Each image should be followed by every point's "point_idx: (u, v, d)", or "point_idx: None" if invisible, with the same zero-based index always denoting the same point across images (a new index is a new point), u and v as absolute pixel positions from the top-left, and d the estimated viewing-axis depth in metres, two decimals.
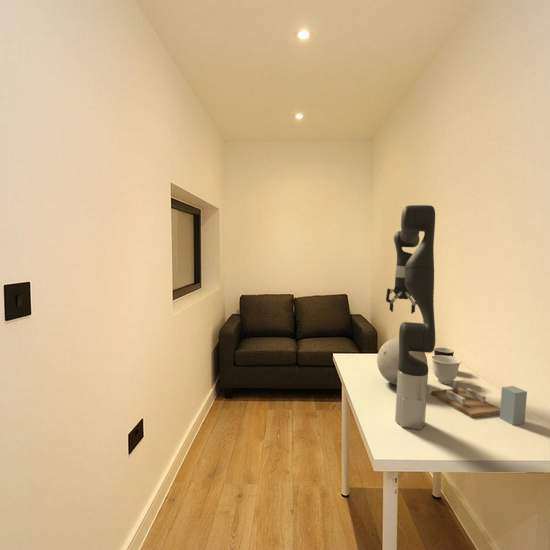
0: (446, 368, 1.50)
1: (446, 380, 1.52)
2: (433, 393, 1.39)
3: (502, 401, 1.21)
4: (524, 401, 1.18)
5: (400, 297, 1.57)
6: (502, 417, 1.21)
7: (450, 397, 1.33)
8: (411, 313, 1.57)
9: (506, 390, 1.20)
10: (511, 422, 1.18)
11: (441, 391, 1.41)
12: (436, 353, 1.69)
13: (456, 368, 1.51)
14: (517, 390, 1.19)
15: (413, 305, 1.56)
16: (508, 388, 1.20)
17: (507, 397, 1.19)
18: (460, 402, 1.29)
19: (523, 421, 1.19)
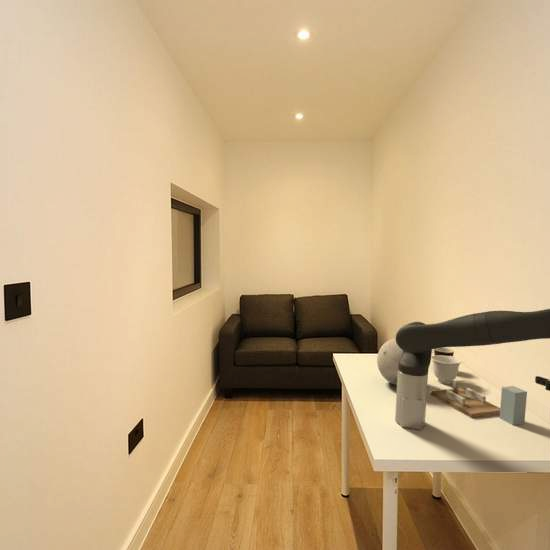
0: (446, 368, 1.50)
1: (446, 380, 1.52)
2: (433, 393, 1.39)
3: (502, 401, 1.21)
4: (524, 401, 1.18)
5: None
6: (502, 417, 1.21)
7: (450, 397, 1.33)
8: None
9: (506, 390, 1.20)
10: (511, 422, 1.18)
11: (441, 391, 1.41)
12: (436, 353, 1.69)
13: (456, 368, 1.51)
14: (517, 390, 1.19)
15: (548, 379, 1.05)
16: (508, 388, 1.20)
17: (507, 397, 1.19)
18: (460, 402, 1.29)
19: (523, 421, 1.19)
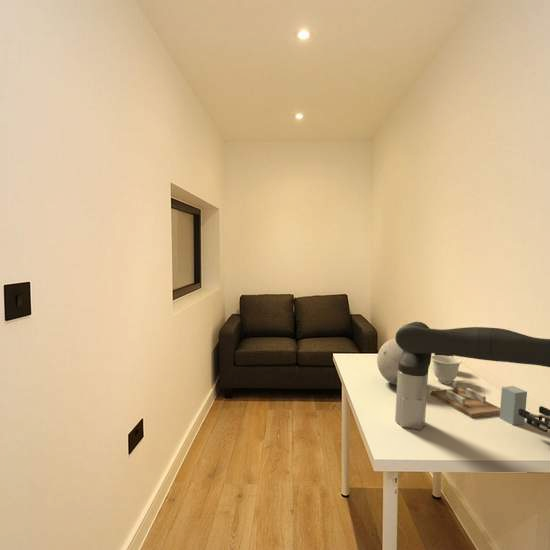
0: (446, 368, 1.50)
1: (446, 380, 1.52)
2: (433, 393, 1.39)
3: (502, 401, 1.21)
4: (524, 401, 1.18)
5: None
6: (502, 417, 1.21)
7: (450, 397, 1.33)
8: (520, 409, 1.13)
9: (506, 390, 1.20)
10: (511, 422, 1.18)
11: (441, 391, 1.41)
12: None
13: (456, 368, 1.51)
14: (517, 390, 1.19)
15: (530, 413, 1.10)
16: (508, 388, 1.20)
17: (507, 397, 1.19)
18: (460, 402, 1.29)
19: (523, 421, 1.19)
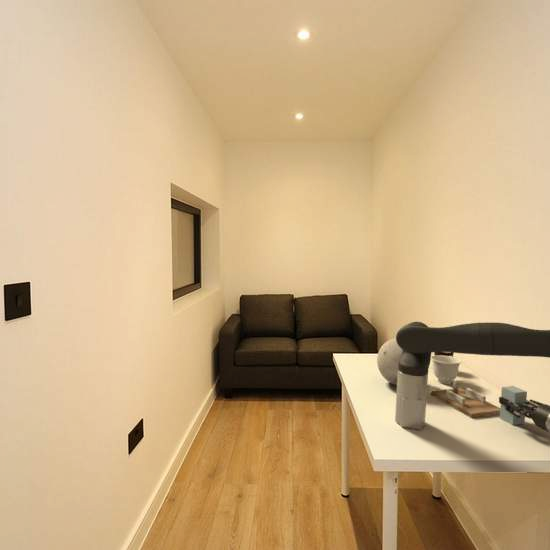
0: (446, 368, 1.50)
1: (446, 380, 1.52)
2: (433, 393, 1.39)
3: None
4: (524, 401, 1.18)
5: (529, 405, 1.15)
6: (502, 417, 1.21)
7: (450, 397, 1.33)
8: (500, 397, 1.22)
9: (506, 390, 1.20)
10: (511, 422, 1.18)
11: (441, 391, 1.41)
12: (436, 353, 1.69)
13: (456, 368, 1.51)
14: (517, 390, 1.19)
15: (509, 401, 1.18)
16: (508, 388, 1.20)
17: (507, 397, 1.19)
18: (460, 402, 1.29)
19: (523, 421, 1.19)
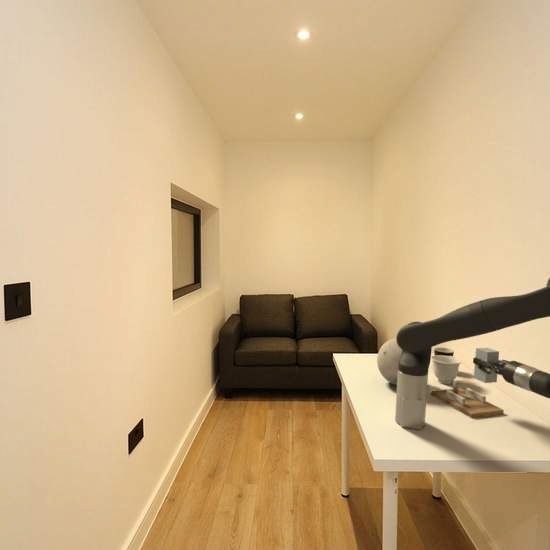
0: (446, 368, 1.50)
1: (446, 380, 1.52)
2: (433, 393, 1.39)
3: None
4: (496, 360, 1.25)
5: None
6: (476, 376, 1.28)
7: (450, 397, 1.33)
8: (474, 358, 1.28)
9: (480, 350, 1.26)
10: (484, 380, 1.24)
11: (441, 391, 1.41)
12: (436, 353, 1.69)
13: (456, 368, 1.51)
14: (490, 350, 1.26)
15: None
16: (482, 349, 1.27)
17: (480, 357, 1.26)
18: (460, 402, 1.29)
19: (495, 379, 1.25)
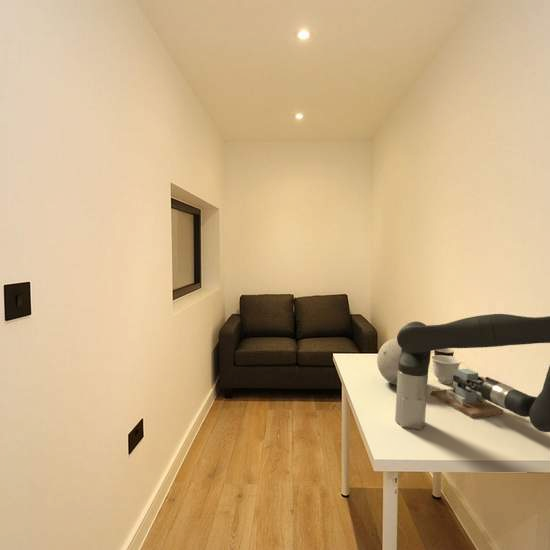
0: (446, 368, 1.50)
1: (446, 380, 1.52)
2: (433, 393, 1.39)
3: None
4: None
5: None
6: None
7: (450, 397, 1.33)
8: None
9: (460, 372, 1.32)
10: None
11: (441, 391, 1.41)
12: (436, 353, 1.69)
13: (456, 368, 1.51)
14: (470, 372, 1.31)
15: (460, 378, 1.30)
16: (462, 370, 1.33)
17: None
18: (460, 402, 1.29)
19: (475, 399, 1.31)
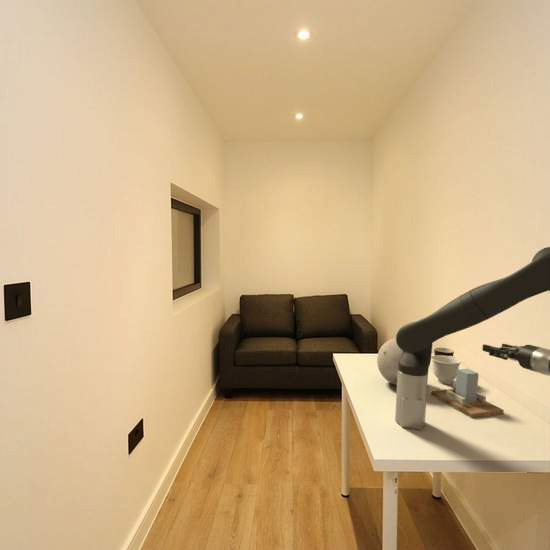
0: (446, 368, 1.50)
1: (446, 380, 1.52)
2: (433, 393, 1.39)
3: (456, 382, 1.34)
4: (476, 382, 1.30)
5: None
6: None
7: (450, 397, 1.33)
8: (484, 345, 1.20)
9: (460, 372, 1.32)
10: None
11: (441, 391, 1.41)
12: (436, 353, 1.69)
13: (456, 368, 1.51)
14: (470, 372, 1.31)
15: (492, 347, 1.16)
16: (462, 370, 1.33)
17: (461, 378, 1.32)
18: (460, 402, 1.29)
19: (475, 399, 1.31)
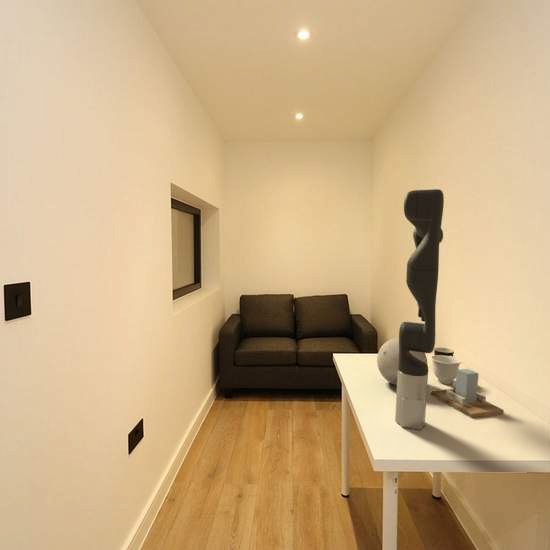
0: (446, 368, 1.50)
1: (446, 380, 1.52)
2: (433, 393, 1.39)
3: (456, 382, 1.34)
4: (476, 382, 1.30)
5: None
6: None
7: (450, 397, 1.33)
8: None
9: (460, 372, 1.32)
10: None
11: (441, 391, 1.41)
12: (436, 353, 1.69)
13: (456, 368, 1.51)
14: (470, 372, 1.31)
15: None
16: (462, 370, 1.33)
17: (461, 378, 1.32)
18: (460, 402, 1.29)
19: (475, 399, 1.31)
